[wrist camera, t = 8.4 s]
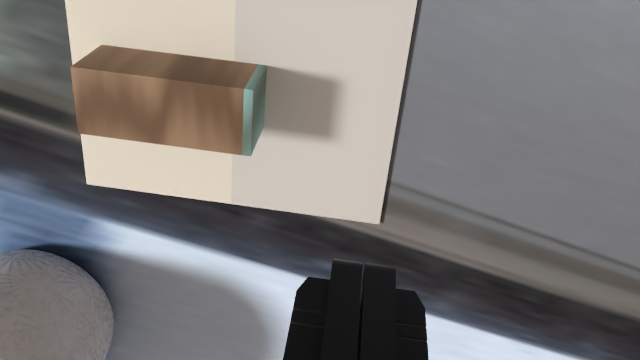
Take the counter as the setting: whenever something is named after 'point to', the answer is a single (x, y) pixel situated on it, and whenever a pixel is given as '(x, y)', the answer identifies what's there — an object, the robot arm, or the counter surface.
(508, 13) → the counter surface
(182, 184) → the cream flat rectangular panel
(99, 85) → the walnut block
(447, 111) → the counter surface
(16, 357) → the planter
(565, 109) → the counter surface
